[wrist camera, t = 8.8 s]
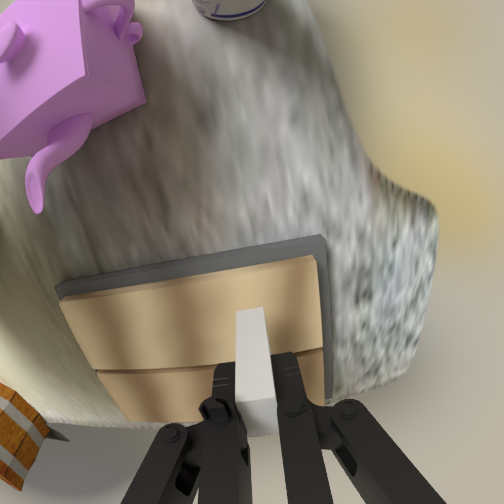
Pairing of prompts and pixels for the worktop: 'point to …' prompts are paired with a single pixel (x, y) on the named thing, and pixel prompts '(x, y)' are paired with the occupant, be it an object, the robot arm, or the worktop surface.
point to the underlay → (221, 263)
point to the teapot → (63, 79)
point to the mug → (18, 436)
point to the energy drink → (228, 8)
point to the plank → (196, 316)
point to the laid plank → (188, 388)
